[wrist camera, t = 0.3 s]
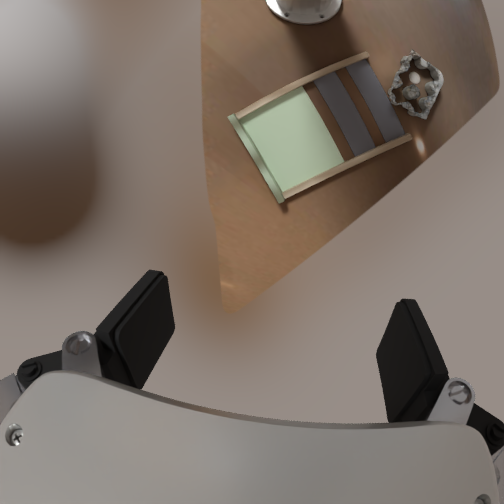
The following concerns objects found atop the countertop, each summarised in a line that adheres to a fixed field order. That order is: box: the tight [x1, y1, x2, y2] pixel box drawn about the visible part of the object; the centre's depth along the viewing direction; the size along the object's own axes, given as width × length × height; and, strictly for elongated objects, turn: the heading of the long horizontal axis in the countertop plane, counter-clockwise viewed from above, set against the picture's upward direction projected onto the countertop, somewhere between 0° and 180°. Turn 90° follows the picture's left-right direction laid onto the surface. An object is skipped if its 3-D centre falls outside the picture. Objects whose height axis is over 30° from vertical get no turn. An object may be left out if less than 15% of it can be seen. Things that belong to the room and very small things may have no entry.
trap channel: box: [228, 51, 412, 204], centre depth 38 cm, size 16×25×2 cm, turn 121°
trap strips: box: [313, 59, 405, 157], centre depth 36 cm, size 14×10×1 cm
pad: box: [240, 86, 344, 192], centre depth 41 cm, size 14×12×1 cm
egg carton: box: [388, 49, 444, 120], centre depth 31 cm, size 11×8×4 cm
